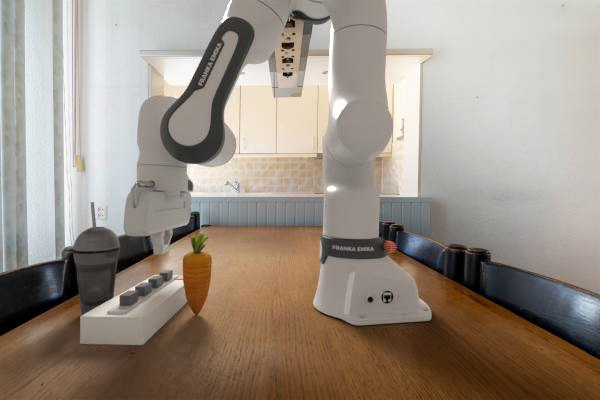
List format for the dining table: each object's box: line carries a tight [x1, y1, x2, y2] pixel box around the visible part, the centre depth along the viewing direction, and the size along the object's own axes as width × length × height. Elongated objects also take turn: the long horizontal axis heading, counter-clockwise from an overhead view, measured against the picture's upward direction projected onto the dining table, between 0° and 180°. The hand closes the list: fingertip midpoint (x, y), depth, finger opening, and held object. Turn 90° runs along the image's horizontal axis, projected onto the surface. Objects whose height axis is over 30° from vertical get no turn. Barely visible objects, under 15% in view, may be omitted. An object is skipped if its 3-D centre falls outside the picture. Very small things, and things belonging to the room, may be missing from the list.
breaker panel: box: [79, 269, 188, 346], centre depth 54 cm, size 9×22×6 cm, turn 0°
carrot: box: [182, 232, 213, 316], centre depth 54 cm, size 5×5×15 cm
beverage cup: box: [71, 201, 122, 316], centre depth 54 cm, size 7×7×20 cm
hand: (161, 253), depth 58 cm, fingers closed
